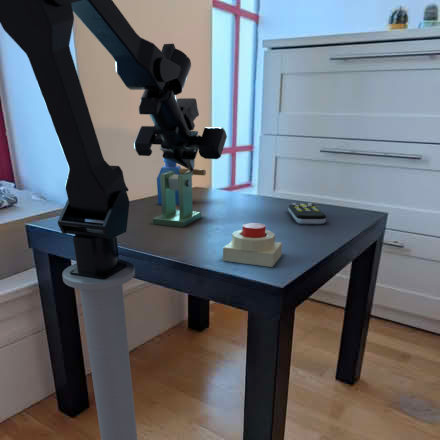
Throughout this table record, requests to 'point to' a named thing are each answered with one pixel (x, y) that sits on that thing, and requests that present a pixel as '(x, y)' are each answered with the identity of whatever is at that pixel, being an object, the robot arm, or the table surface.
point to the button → (253, 230)
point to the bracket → (169, 206)
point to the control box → (253, 249)
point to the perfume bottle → (167, 168)
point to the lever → (174, 179)
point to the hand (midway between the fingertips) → (192, 168)
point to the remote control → (306, 214)
